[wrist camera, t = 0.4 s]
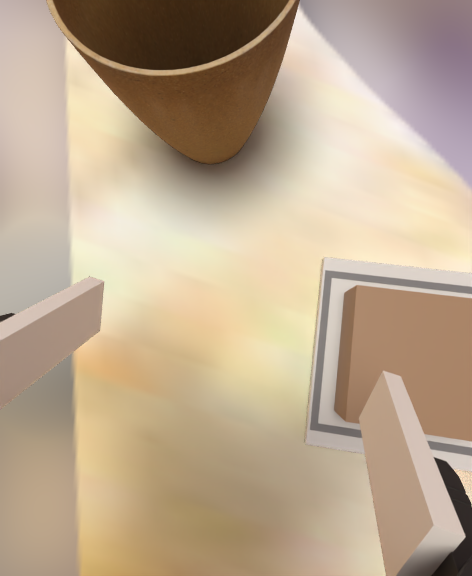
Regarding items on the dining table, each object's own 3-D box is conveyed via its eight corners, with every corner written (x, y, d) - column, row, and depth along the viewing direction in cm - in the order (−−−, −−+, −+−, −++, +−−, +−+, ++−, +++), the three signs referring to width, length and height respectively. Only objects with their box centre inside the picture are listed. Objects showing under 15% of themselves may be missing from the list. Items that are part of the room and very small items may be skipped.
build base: (477, 469, 27) (525, 497, 22) (304, 440, 29) (313, 461, 24) (482, 277, 30) (526, 264, 25) (322, 259, 31) (333, 244, 26)
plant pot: (132, 196, 34) (17, 67, 18) (153, 65, 36) (68, -152, 20) (281, 206, 32) (298, 76, 16) (293, 70, 34) (320, -160, 19)
